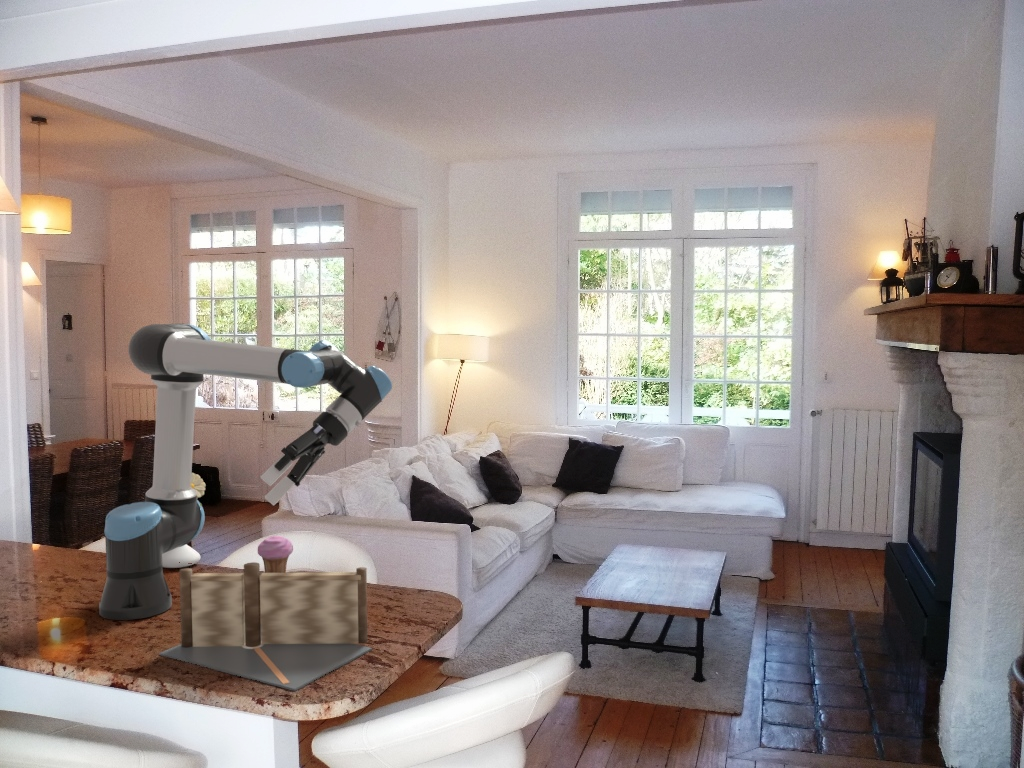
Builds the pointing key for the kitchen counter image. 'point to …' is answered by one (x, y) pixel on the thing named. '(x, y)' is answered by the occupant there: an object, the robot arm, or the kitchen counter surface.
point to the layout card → (272, 660)
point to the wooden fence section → (220, 608)
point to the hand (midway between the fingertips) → (266, 492)
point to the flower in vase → (186, 552)
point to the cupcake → (275, 553)
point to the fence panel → (314, 607)
